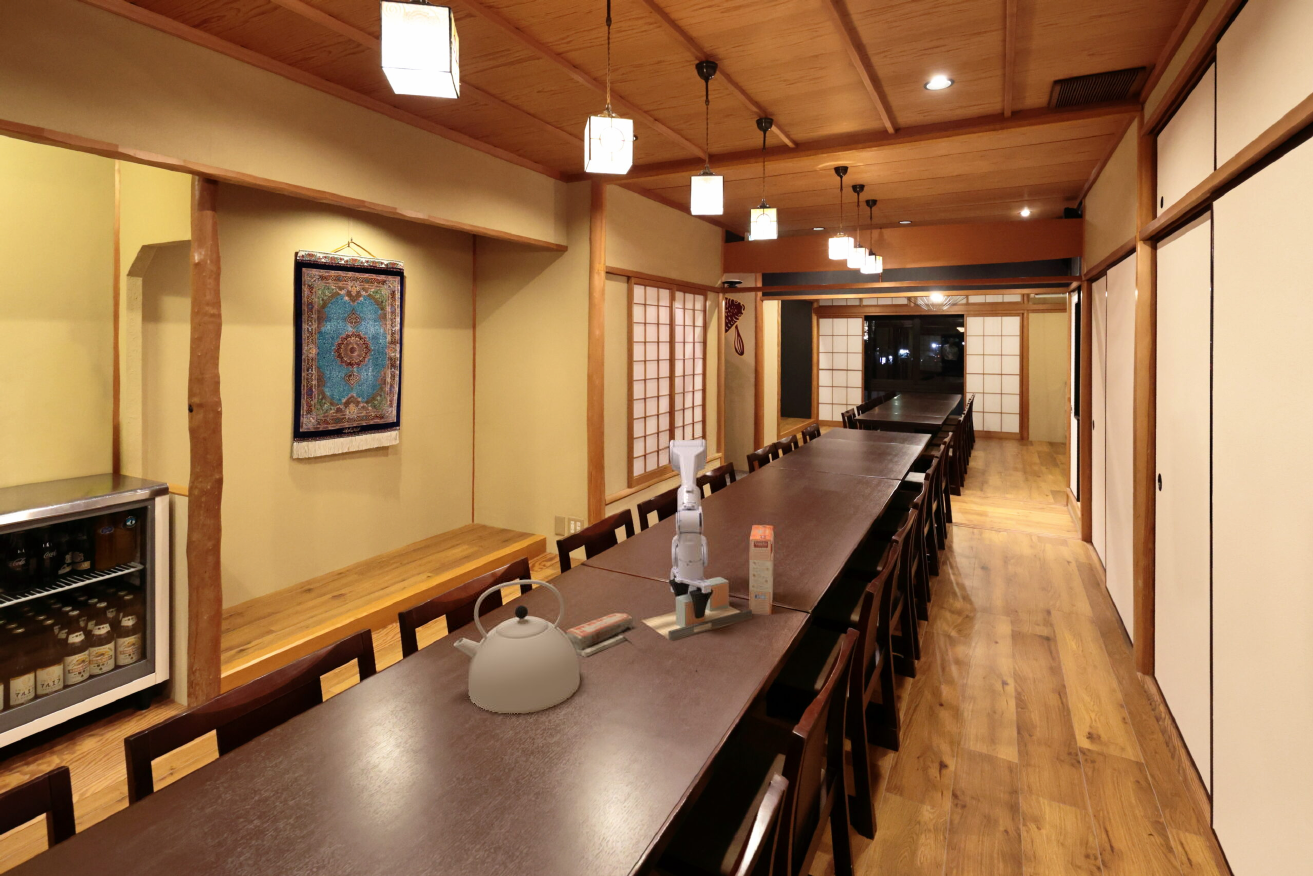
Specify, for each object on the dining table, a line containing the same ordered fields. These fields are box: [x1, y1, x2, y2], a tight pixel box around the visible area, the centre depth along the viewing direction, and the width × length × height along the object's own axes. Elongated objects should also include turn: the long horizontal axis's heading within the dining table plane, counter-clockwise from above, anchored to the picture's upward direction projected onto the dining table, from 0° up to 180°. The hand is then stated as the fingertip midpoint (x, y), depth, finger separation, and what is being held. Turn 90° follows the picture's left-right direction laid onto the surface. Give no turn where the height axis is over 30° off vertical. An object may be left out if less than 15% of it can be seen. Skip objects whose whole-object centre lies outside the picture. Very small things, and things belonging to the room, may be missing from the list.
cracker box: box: [748, 524, 775, 616], centre depth 176 cm, size 14×6×21 cm, turn 168°
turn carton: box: [675, 594, 705, 628], centre depth 165 cm, size 4×6×7 cm
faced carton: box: [706, 576, 730, 612], centre depth 175 cm, size 4×6×7 cm
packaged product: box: [565, 612, 634, 658], centre depth 161 cm, size 18×5×10 cm
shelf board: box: [641, 605, 753, 641], centre depth 168 cm, size 14×24×3 cm, turn 121°
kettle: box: [453, 579, 581, 715], centre depth 138 cm, size 25×23×23 cm
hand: (690, 612), depth 165 cm, fingers open, 7 cm apart
